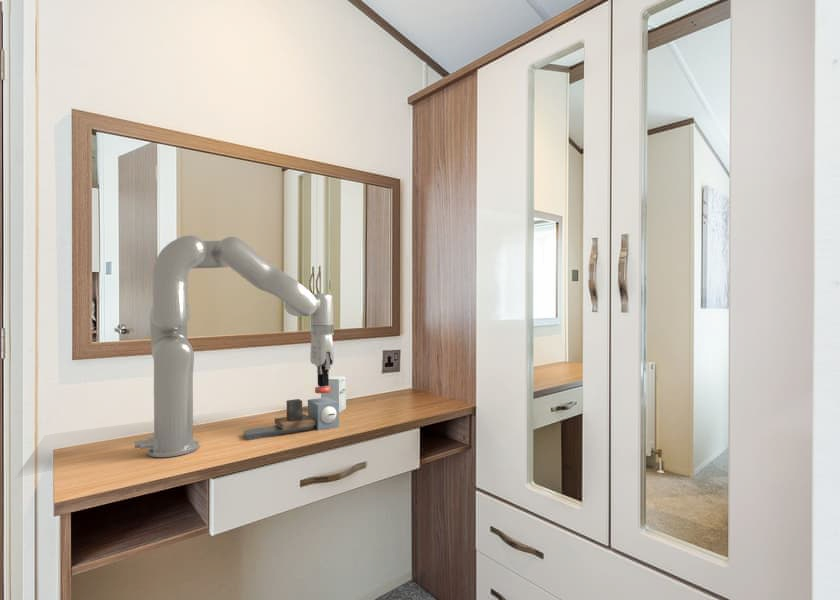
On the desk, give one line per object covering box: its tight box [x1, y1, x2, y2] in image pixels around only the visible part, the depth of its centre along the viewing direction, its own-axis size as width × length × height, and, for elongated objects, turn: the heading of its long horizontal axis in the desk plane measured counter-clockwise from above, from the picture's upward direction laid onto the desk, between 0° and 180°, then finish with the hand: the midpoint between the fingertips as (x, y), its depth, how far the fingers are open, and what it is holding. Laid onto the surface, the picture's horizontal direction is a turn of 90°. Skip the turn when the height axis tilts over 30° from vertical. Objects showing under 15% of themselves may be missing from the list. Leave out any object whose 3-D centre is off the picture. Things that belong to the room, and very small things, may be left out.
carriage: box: [274, 398, 315, 430], centre depth 143 cm, size 10×10×8 cm
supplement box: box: [320, 375, 347, 414], centre depth 168 cm, size 7×7×13 cm
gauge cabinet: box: [307, 397, 340, 431], centre depth 148 cm, size 7×10×8 cm
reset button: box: [314, 386, 330, 394], centre depth 148 cm, size 5×5×2 cm
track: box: [242, 424, 314, 441], centre depth 140 cm, size 20×6×2 cm, turn 123°
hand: (323, 385), depth 149 cm, fingers closed
